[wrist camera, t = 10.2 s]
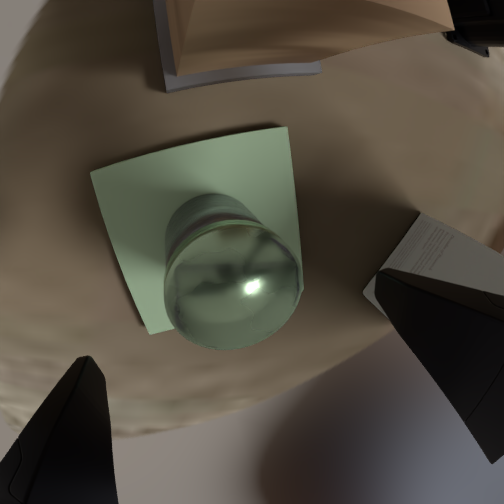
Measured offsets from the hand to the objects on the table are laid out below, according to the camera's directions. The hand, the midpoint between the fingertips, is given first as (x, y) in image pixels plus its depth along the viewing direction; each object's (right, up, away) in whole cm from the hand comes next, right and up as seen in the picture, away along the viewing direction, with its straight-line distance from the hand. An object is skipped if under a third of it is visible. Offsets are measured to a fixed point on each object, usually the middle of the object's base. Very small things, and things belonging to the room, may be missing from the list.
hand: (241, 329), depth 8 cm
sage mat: (-2, +3, +6) cm, 7 cm away
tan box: (-1, +13, +2) cm, 14 cm away
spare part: (-2, +3, +6) cm, 7 cm away
